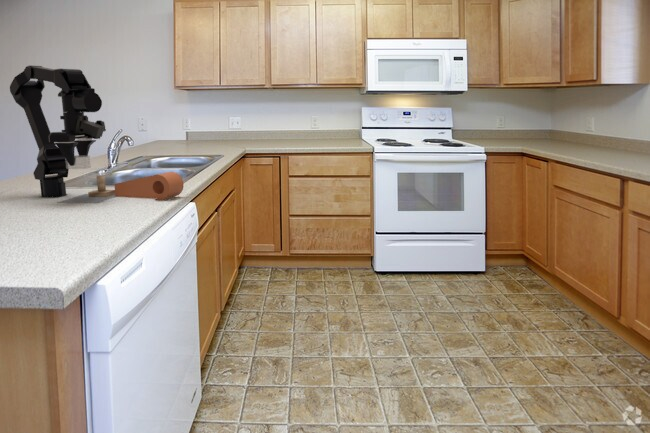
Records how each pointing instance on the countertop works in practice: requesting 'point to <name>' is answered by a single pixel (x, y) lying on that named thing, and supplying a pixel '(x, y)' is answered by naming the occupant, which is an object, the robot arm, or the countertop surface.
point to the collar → (79, 162)
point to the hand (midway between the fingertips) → (78, 164)
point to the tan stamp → (101, 188)
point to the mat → (86, 199)
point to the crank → (151, 186)
